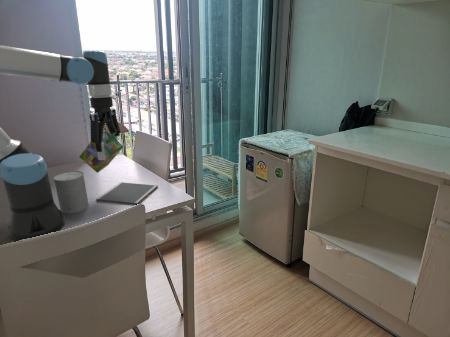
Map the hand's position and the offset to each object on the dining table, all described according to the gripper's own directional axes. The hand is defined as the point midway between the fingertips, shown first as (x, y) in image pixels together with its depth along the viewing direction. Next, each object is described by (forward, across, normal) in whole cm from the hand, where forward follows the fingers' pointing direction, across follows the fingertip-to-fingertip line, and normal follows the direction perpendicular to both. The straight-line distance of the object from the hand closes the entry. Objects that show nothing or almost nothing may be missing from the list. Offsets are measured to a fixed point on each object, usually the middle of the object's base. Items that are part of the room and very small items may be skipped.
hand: (109, 155), depth 124 cm
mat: (+15, 0, +6) cm, 16 cm away
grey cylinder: (+16, +15, -7) cm, 23 cm away
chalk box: (+3, 0, -7) cm, 7 cm away
